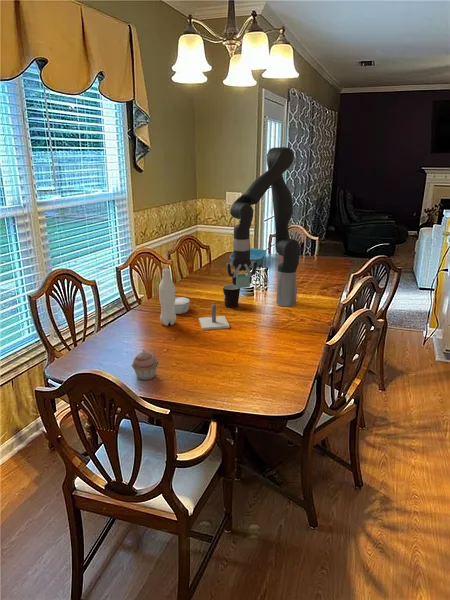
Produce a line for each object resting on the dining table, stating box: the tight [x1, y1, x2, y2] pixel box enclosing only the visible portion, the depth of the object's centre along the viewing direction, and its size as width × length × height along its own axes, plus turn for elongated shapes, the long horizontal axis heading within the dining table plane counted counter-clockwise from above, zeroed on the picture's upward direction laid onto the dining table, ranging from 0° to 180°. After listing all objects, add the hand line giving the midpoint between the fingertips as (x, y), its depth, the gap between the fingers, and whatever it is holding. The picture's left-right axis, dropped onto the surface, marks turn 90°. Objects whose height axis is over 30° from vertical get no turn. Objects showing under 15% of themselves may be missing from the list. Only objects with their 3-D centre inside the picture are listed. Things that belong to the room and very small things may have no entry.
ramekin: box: [174, 296, 191, 315], centre depth 215 cm, size 11×11×5 cm
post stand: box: [198, 303, 231, 331], centre depth 199 cm, size 12×12×9 cm
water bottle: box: [158, 268, 177, 327], centre depth 196 cm, size 7×7×25 cm
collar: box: [235, 272, 251, 289], centre depth 203 cm, size 6×6×5 cm
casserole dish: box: [229, 247, 267, 269], centre depth 303 cm, size 37×22×7 cm, turn 168°
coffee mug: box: [222, 283, 241, 309], centre depth 222 cm, size 12×9×10 cm
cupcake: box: [131, 349, 160, 381], centre depth 153 cm, size 9×9×10 cm
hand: (241, 284), depth 204 cm, fingers closed on collar, 6 cm apart
